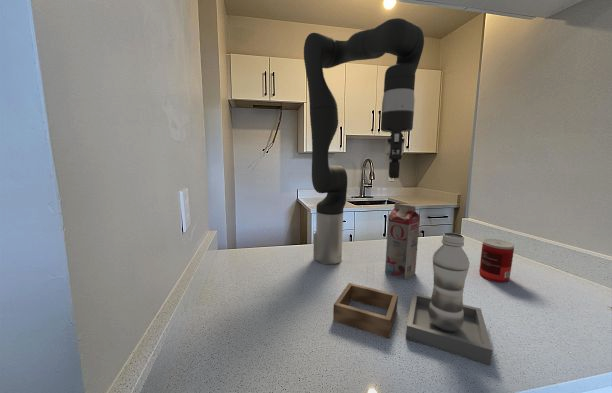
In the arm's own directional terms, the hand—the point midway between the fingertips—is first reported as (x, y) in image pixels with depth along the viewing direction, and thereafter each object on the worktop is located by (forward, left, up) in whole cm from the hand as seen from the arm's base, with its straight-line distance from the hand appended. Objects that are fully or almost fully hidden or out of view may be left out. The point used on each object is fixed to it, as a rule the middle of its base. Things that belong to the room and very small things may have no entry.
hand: (393, 177), depth 65 cm
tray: (+14, -11, -31) cm, 36 cm away
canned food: (+28, +24, -31) cm, 48 cm away
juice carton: (+2, +13, -31) cm, 34 cm away
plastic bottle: (+14, -11, -30) cm, 35 cm away
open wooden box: (-2, -14, -31) cm, 34 cm away
